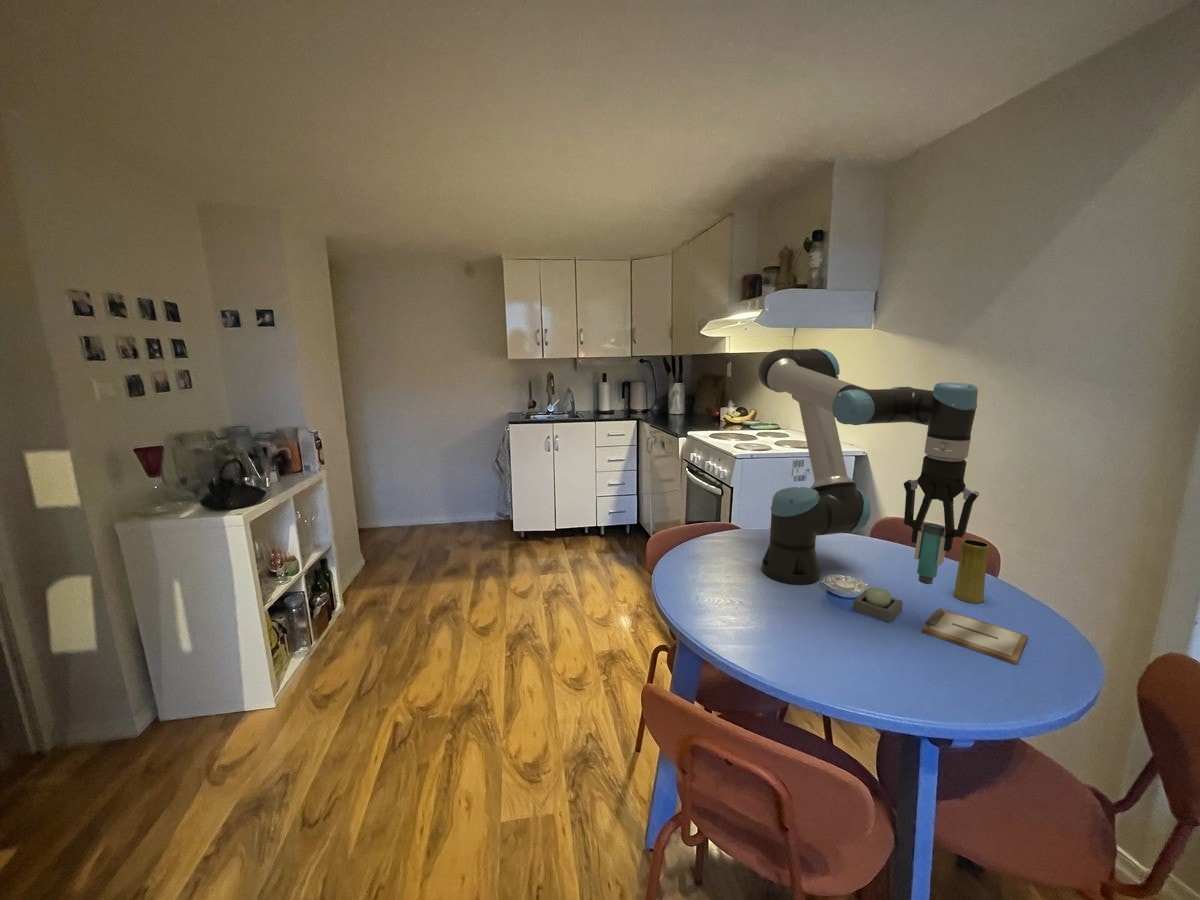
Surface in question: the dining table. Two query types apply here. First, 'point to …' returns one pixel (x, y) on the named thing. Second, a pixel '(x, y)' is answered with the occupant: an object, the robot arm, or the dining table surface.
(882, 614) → the button frame
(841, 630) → the dining table surface
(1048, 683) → the dining table surface
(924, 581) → the marker
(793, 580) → the robot arm
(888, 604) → the button
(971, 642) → the drawing board
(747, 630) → the dining table surface
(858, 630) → the dining table surface
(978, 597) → the vase
